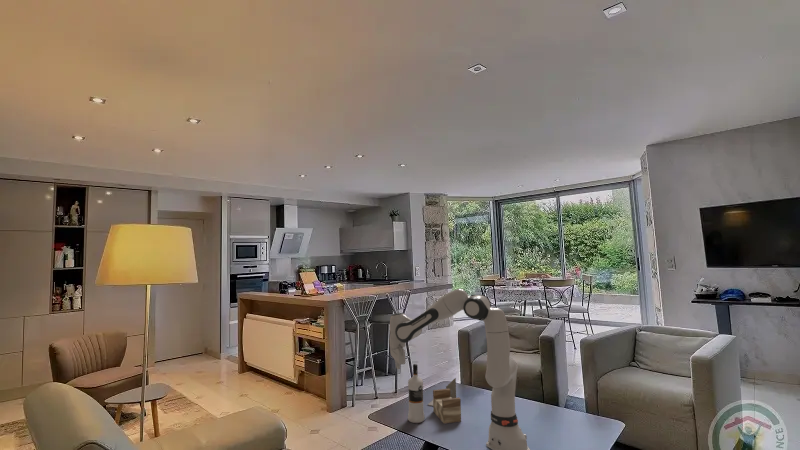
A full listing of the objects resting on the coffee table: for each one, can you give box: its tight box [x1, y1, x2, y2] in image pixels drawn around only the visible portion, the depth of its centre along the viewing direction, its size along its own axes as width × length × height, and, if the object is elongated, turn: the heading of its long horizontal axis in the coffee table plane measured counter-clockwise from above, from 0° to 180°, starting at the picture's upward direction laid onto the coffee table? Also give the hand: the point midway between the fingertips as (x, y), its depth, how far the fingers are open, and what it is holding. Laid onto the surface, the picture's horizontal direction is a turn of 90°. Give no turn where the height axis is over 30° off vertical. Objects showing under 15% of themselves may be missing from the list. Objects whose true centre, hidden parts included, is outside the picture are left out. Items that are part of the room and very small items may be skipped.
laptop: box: [427, 377, 457, 407], centre depth 236 cm, size 18×12×13 cm
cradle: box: [432, 388, 462, 424], centre depth 215 cm, size 17×10×12 cm, turn 14°
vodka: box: [407, 363, 426, 424], centre depth 211 cm, size 9×9×30 cm
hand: (397, 368), depth 210 cm, fingers closed
